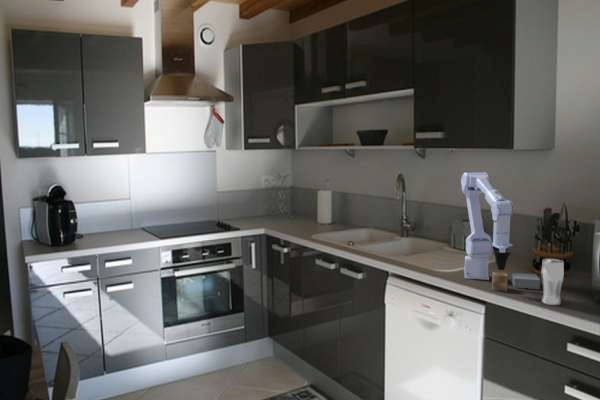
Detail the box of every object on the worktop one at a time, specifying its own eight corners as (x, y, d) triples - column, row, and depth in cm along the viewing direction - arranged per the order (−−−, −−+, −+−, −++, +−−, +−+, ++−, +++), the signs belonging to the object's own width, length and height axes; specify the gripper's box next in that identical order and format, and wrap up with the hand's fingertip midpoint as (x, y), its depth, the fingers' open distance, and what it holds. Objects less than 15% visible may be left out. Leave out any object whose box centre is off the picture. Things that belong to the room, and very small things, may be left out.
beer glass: (564, 302, 180) (566, 260, 179) (558, 307, 175) (560, 264, 173) (543, 298, 185) (545, 257, 183) (537, 303, 180) (539, 261, 178)
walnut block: (492, 290, 195) (493, 275, 195) (492, 286, 200) (492, 271, 199) (506, 291, 194) (507, 276, 193) (505, 287, 199) (506, 272, 198)
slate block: (514, 288, 199) (514, 278, 198) (511, 282, 207) (511, 272, 207) (539, 290, 196) (539, 280, 196) (535, 283, 205) (535, 274, 204)
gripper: (514, 236, 186) (513, 272, 188) (510, 229, 200) (509, 263, 202) (494, 235, 188) (493, 271, 190) (491, 228, 202) (490, 262, 204)
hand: (500, 267), depth 196 cm, fingers open, 7 cm apart
